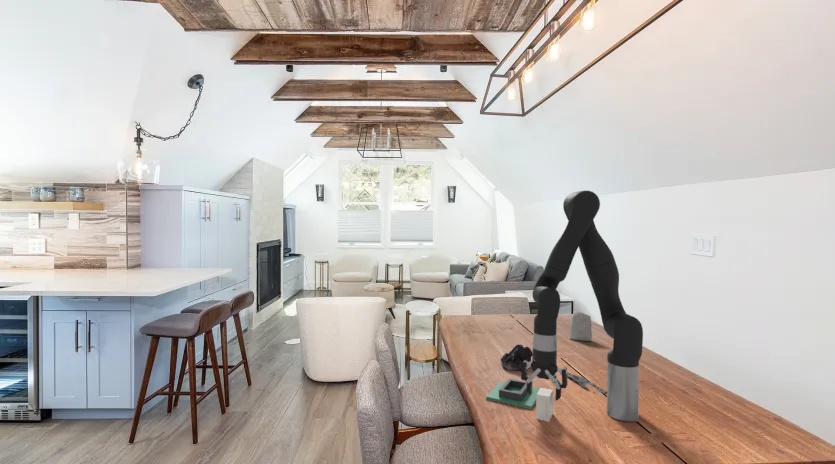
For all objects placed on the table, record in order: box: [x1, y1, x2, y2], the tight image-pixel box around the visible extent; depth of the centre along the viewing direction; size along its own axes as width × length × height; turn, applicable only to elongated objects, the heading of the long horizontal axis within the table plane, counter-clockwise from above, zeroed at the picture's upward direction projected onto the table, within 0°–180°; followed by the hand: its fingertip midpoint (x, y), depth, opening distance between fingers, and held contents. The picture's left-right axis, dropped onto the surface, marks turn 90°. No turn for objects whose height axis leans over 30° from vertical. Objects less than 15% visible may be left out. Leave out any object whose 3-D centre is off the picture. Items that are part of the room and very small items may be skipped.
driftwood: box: [567, 371, 607, 395], centre depth 160 cm, size 21×7×2 cm, turn 12°
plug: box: [535, 387, 554, 423], centre depth 132 cm, size 4×7×8 cm, turn 151°
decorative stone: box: [569, 310, 593, 342], centre depth 219 cm, size 11×6×15 cm, turn 58°
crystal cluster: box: [500, 344, 533, 371], centre depth 180 cm, size 13×14×10 cm
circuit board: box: [485, 378, 540, 410], centre depth 149 cm, size 16×16×4 cm
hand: (543, 396), depth 133 cm, fingers open, 8 cm apart
